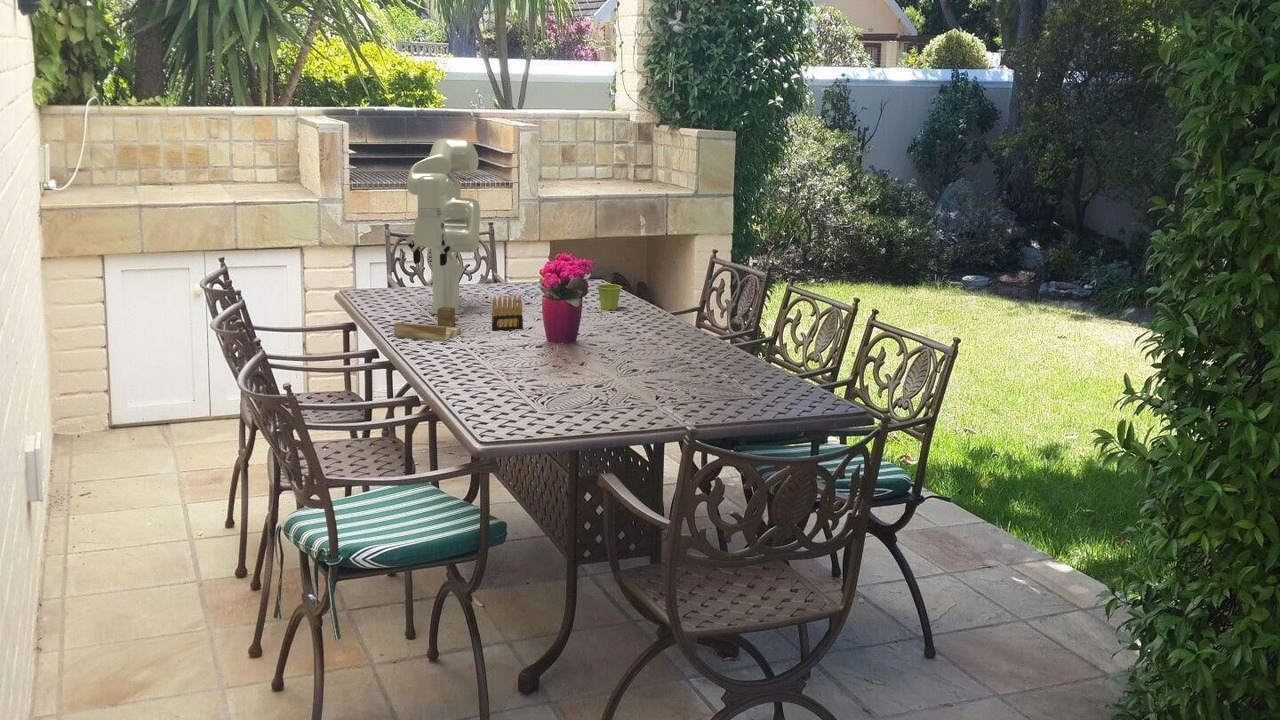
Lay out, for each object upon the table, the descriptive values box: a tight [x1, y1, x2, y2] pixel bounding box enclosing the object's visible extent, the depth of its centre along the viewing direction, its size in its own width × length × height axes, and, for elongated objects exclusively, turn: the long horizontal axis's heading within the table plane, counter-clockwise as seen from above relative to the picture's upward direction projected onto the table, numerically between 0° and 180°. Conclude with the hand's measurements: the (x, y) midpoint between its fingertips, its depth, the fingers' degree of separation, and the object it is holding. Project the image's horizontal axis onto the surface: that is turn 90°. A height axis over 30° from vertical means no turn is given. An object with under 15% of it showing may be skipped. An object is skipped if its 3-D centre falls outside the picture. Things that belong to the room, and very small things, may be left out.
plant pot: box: [596, 283, 623, 311], centre depth 476 cm, size 9×9×9 cm
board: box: [393, 322, 462, 342], centre depth 425 cm, size 13×18×4 cm
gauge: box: [436, 307, 460, 327], centre depth 439 cm, size 12×4×7 cm, turn 164°
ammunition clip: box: [491, 294, 524, 332], centre depth 436 cm, size 11×2×12 cm, turn 110°
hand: (430, 264), depth 428 cm, fingers open, 9 cm apart
